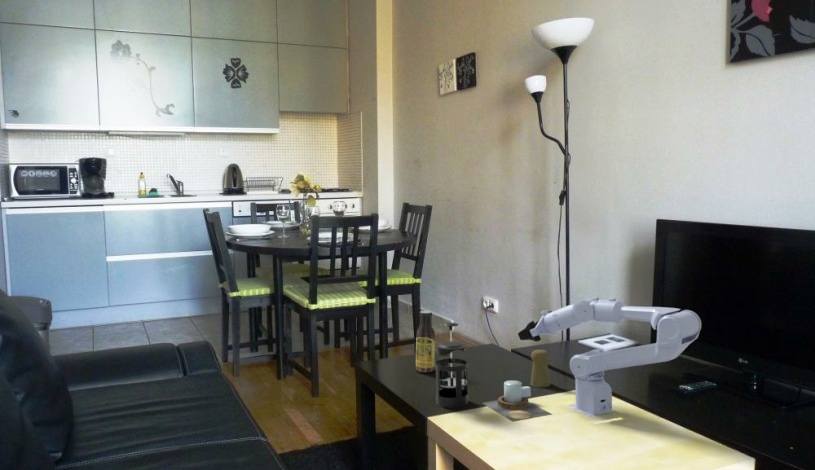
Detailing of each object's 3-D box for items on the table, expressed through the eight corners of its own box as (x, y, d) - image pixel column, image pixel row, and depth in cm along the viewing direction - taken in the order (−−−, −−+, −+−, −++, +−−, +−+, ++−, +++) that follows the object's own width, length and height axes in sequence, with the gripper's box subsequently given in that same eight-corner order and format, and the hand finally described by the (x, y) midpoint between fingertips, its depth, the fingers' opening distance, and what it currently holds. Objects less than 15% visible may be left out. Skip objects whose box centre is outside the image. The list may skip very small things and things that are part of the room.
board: (552, 416, 167) (552, 408, 167) (512, 423, 163) (512, 416, 163) (518, 398, 182) (518, 391, 182) (481, 404, 177) (481, 397, 177)
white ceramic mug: (510, 408, 172) (509, 386, 172) (501, 403, 177) (500, 381, 176) (534, 404, 175) (533, 382, 175) (524, 399, 180) (524, 378, 179)
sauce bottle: (413, 372, 210) (412, 313, 209) (418, 367, 216) (417, 309, 215) (432, 374, 209) (431, 313, 207) (437, 368, 215) (436, 310, 213)
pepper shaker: (549, 383, 196) (548, 347, 195) (551, 389, 190) (551, 352, 189) (529, 383, 196) (528, 347, 196) (531, 389, 190) (530, 352, 190)
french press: (476, 407, 175) (474, 325, 174) (445, 413, 172) (443, 328, 170) (457, 395, 186) (455, 317, 184) (427, 400, 182) (425, 320, 181)
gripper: (569, 298, 182) (535, 311, 192) (541, 314, 172) (506, 327, 182) (581, 320, 181) (546, 333, 191) (552, 338, 171) (517, 350, 181)
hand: (527, 332), depth 187 cm, fingers open, 7 cm apart
